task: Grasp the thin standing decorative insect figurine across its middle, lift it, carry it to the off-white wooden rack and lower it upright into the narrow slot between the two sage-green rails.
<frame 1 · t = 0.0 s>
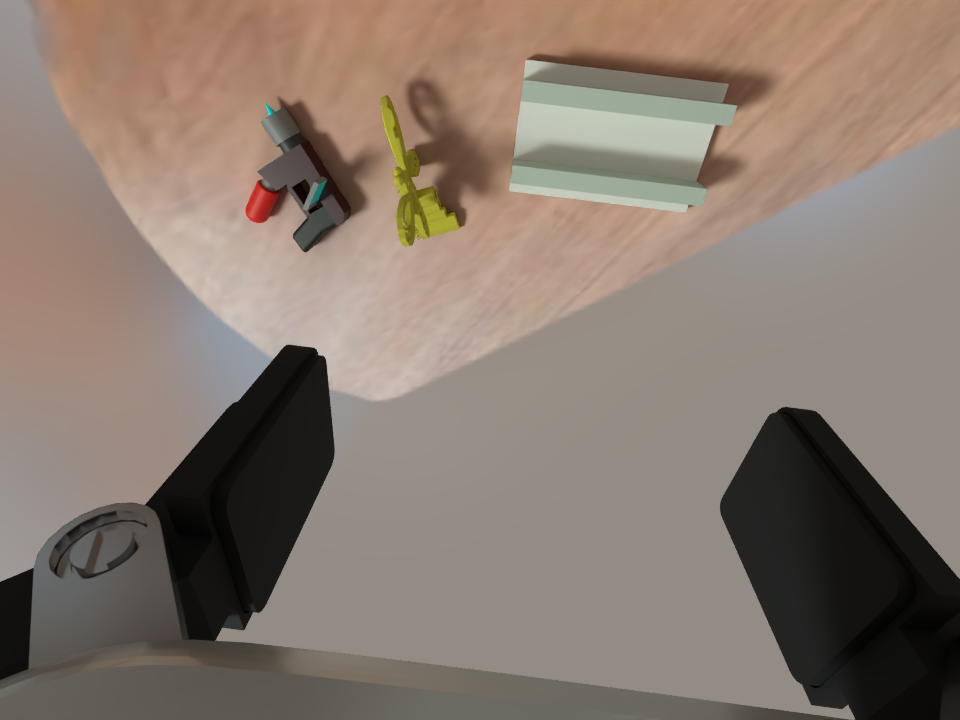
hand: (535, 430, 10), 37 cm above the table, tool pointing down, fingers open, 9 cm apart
rack: (609, 139, 40), on the table
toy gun: (289, 182, 44), on the table
decorative insect: (423, 166, 42), on the table
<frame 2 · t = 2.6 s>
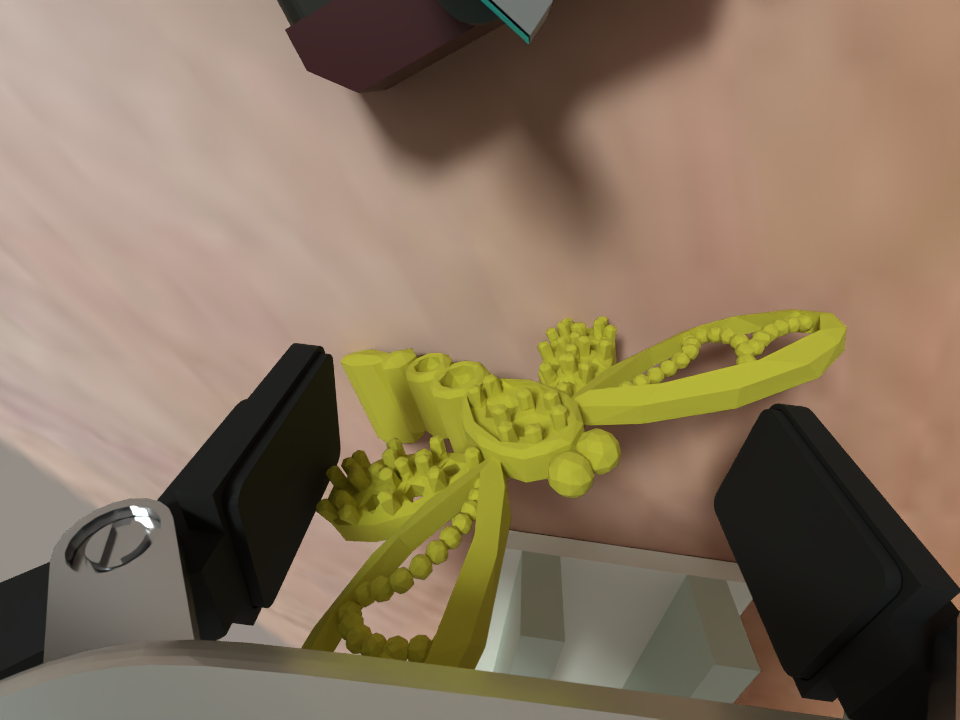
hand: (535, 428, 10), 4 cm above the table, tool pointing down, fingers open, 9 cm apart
rack: (575, 652, 22), on the table
decorative insect: (553, 351, 14), on the table, touching gripper
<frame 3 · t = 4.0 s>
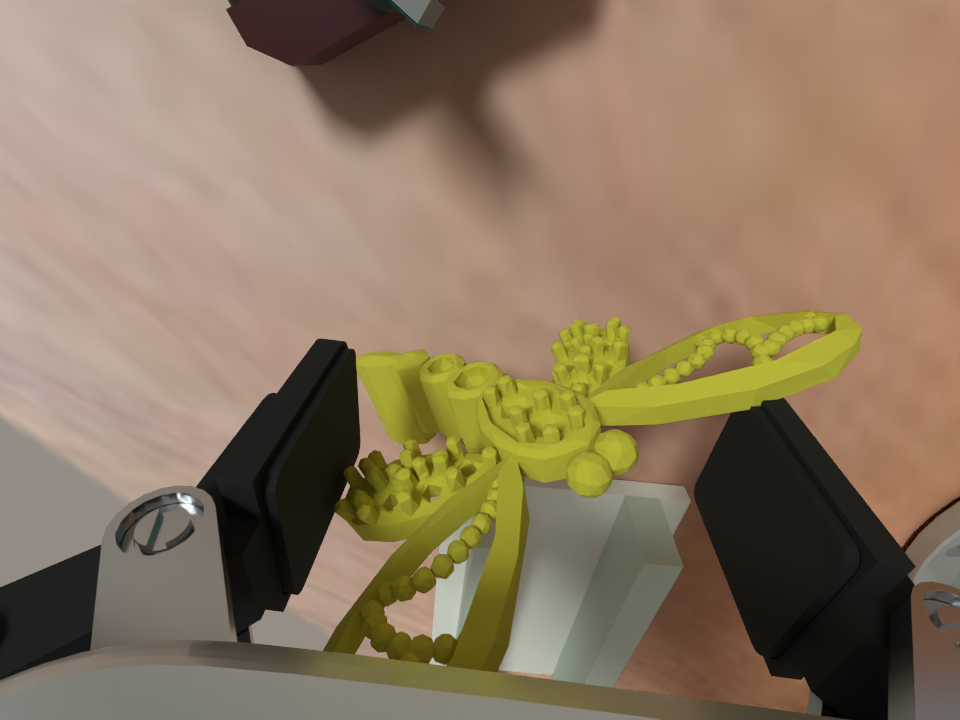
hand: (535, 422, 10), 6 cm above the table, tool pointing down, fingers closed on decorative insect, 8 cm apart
rack: (535, 582, 24), on the table
decorative insect: (565, 352, 14), point 2 cm above the table, touching gripper
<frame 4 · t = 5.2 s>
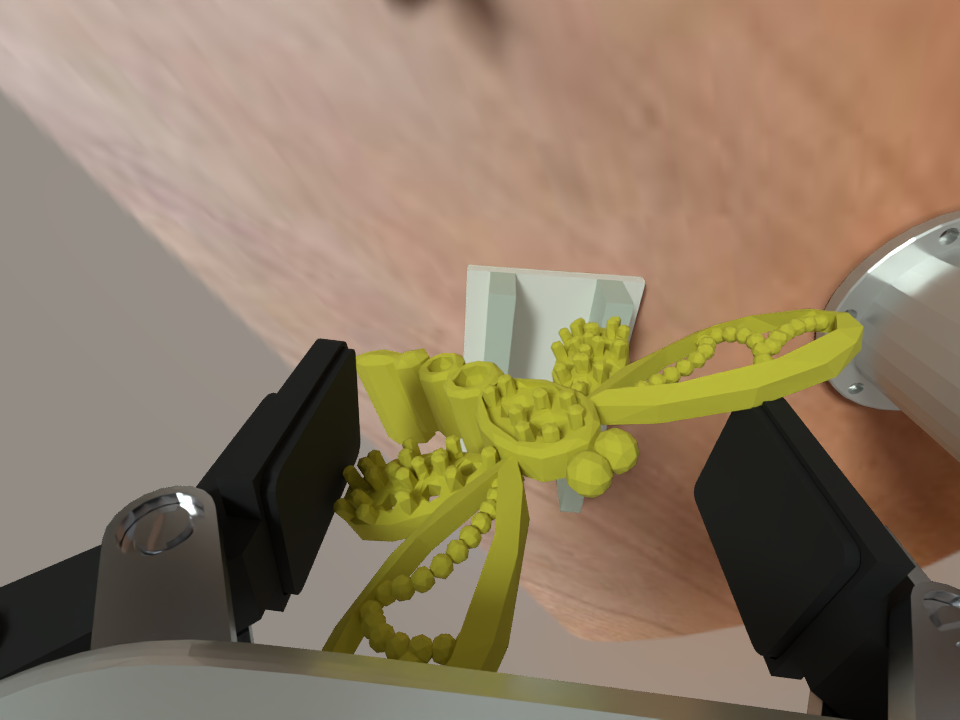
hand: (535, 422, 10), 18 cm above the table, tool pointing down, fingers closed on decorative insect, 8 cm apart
rack: (538, 383, 31), on the table
decorative insect: (565, 351, 14), point 14 cm above the table, touching gripper
perfume bottle: (825, 549, 39), on the table
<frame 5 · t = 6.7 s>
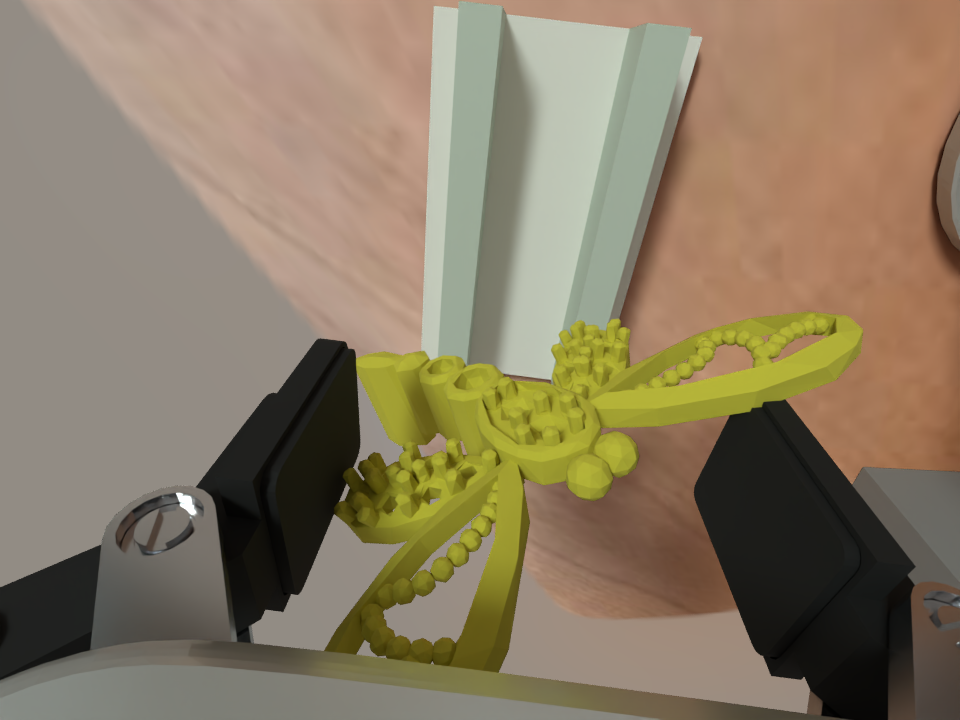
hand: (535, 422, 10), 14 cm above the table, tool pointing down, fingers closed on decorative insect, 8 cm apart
rack: (532, 228, 22), on the table
decorative insect: (565, 353, 14), point 10 cm above the table, touching gripper
perfume bottle: (893, 504, 30), on the table
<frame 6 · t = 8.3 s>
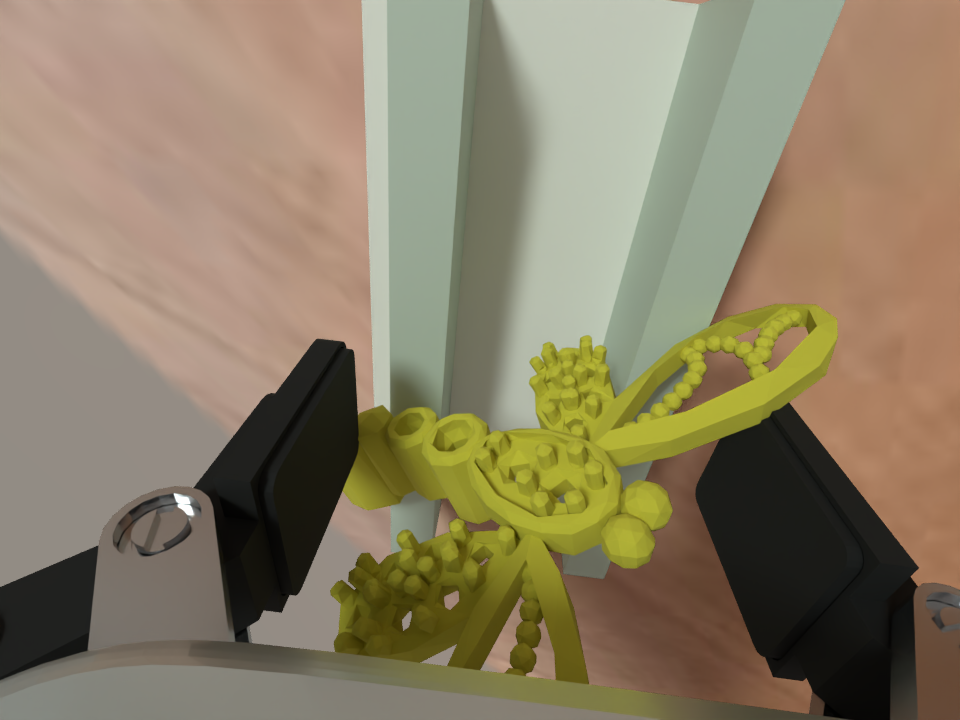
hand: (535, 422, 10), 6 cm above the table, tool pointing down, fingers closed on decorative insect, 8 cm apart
rack: (531, 309, 15), on the table
decorative insect: (534, 376, 13), point 3 cm above the table, touching gripper, rack
when the fingers open (6 cm above the table, at t = 8.8 s): decorative insect stays where it is, resting on rack.
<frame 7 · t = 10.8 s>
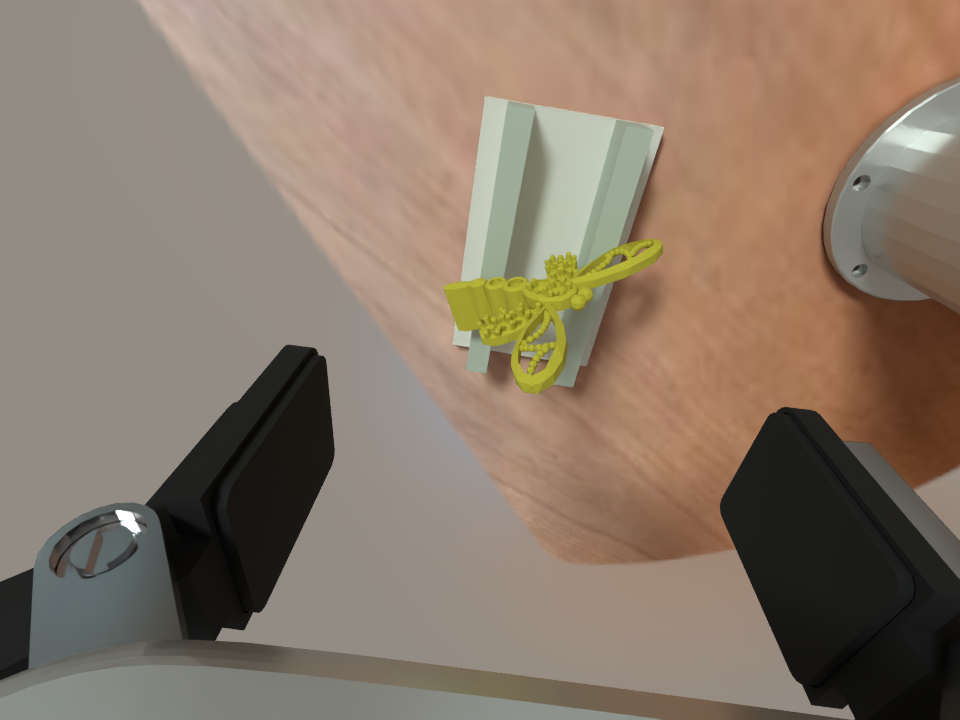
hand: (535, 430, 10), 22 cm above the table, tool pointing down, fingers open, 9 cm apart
rack: (542, 247, 31), on the table
decorative insect: (545, 272, 28), point 3 cm above the table, touching rack
perfume bottle: (807, 468, 39), on the table
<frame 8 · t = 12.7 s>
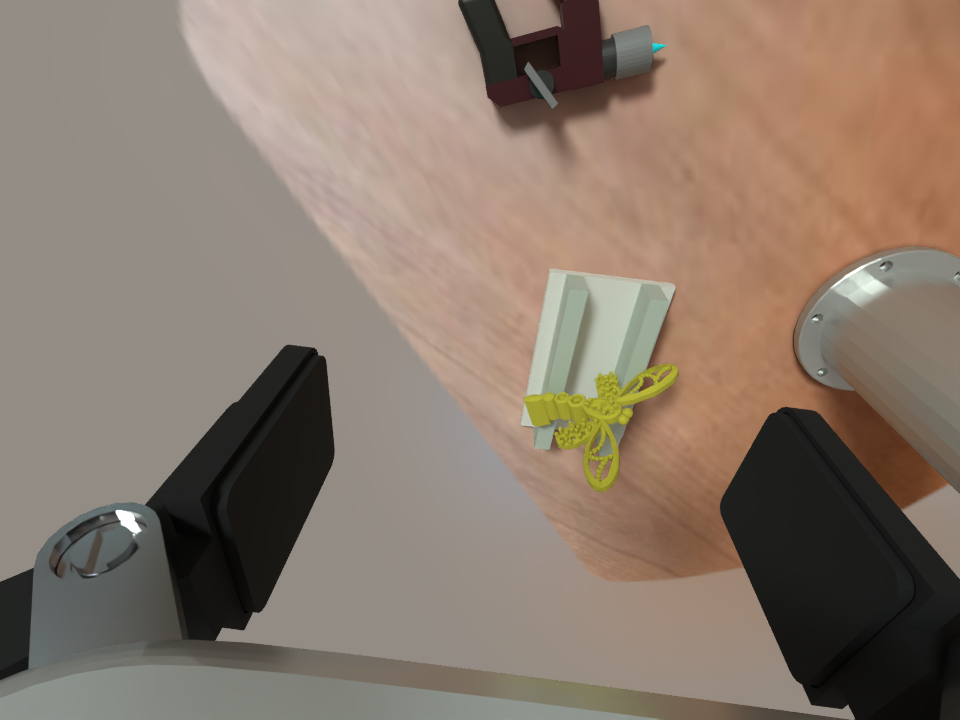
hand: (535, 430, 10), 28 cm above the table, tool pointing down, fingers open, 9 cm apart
rack: (588, 358, 42), on the table
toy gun: (560, 11, 29), on the table
decorative insect: (593, 383, 40), point 3 cm above the table, touching rack
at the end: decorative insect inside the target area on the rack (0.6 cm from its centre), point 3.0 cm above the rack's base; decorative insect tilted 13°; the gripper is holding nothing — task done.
